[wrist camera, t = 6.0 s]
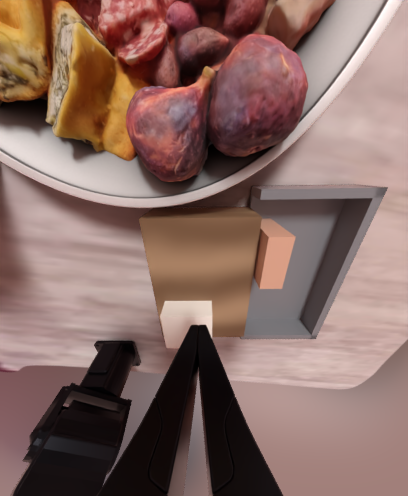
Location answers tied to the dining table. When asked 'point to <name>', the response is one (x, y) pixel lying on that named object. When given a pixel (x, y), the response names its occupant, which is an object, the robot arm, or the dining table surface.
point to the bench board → (204, 260)
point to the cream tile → (184, 319)
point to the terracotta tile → (272, 255)
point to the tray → (309, 254)
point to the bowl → (170, 89)
